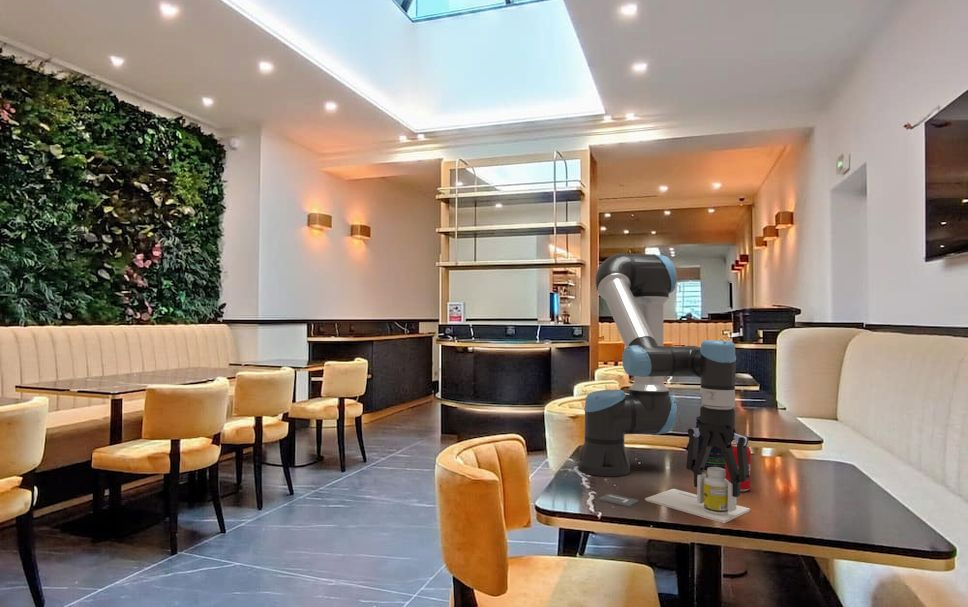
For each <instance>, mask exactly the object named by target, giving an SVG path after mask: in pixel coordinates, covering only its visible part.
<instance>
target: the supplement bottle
mask: <svg viewBox="0 0 968 607" xmlns="http://www.w3.org/2000/svg"><path fill="white" fill-rule="evenodd" d="M725 476H726V470H725V469H723V468H719V467H709V468H707V471H706V478H705V479H704V510H705V511H706V512H708V513H711V514H716V515H725V514H727V513H728V512H729V511H728V480H727V479H725Z"/></svg>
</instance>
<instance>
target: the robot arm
mask: <svg viewBox="0 0 968 607" xmlns="http://www.w3.org/2000/svg"><path fill="white" fill-rule="evenodd" d="M677 278H678V276H677V270H676V267H675V265H674V263H673V261H672V260H671V259H670V258H669V256H667V255H661V254H655V253H654V254H653V253H652V254H649V253H648V254H646V253H616V254H612V255H610V256H609V257H607V258H606V259H605V260H604V261H602V262H601V264H600V265H599V267H598V269H597V271H596V274H595V288H596V290H597V293H598V295H599V297H600V298H602V299H603V300H605V303H606V305H607V307H608V309H609V312H610V314H611V316H612V318H613V321H614V323H615V326H616V329H617V330H618V332H619V335H620V337H621V339H622V341H623V344H624V346H625V348H624V350H623V352H622V359H621V360H622V368H623V370H624V372H625V373H626V375H628V376H632V377H633V383H632V385H630V387H628V394H626V392H625V391H624V390H622V389H601V390H596V391H592V392H590V393H588V394H587V395H586V397H585V401H584V409H583V410H584V440H583V441H584V442H583V446H582V449H581V452H580V454H579V458H578V460H577V463H578V464H577V469H578V470H579V471H580V472H583V473H585V474H589V475H593V476H599V477H621V476H626V475H628V474H630V473H631V464H630V461H629V456H628V453H627V449H626V446H625V436H626V435H652V436H655V435H661V434H662V435H663V434H668V433H669V432H670V431H671V430H672V429H673V428H674V426H675V424H676V421H677V416H678V405H677V404H676V403H677V402H676V399H675V397H674V396H673V395H671V394H670V389H669V387H667V386H666V385H665V383H664V378H665V377H672V378H673V377H677V378H678V377H681V378H682V377H685V378H686V377H687V378H689V377H691V378H692V377H693V378H700V404H701V405H702V406H701V407H700V408H699V409H700V410H699V411H700V412H699V416H700V421H701V425H700V427H699V428H696V427H692V428H688V429H687V434H688V446H687V447H688V448H687V457H686V466H685V467H686V469H687V470H688V471H691V472H692V473H693V485H694V487H695V488H697V489H696V492H697V493H696V495H697V503H699V504H701V503H703V502H704V479H705V478H706V477H707V473H704V472H705V470H704V467H705V464H706V461H707V459H708V456H709V453H710V451H711V448H712V447H713V446H715V447H717V448H720V449H721V452H722V453H723V455H724V458H725V461H726V465H727V468H728V471H729V474H730V477H731V481H730V482H728V511H729V512H732V511H734V510H736V505H737V498H738V497H740V496H741V492H740V484H741V482H745V481H747V480H749V467H748V456H747V444H748V443H749V440H750V439H749V438H750V437H748V436H747V435H744V436H743V435H741V434H738V433H737V431H736V429H735V425H736V424H735V423H736V409H734V407H735V406H736V372H737V371H736V366H737V365H736V364H737V363H736V362H737V356H736V344H735V343H734V342H733V341H731V340H719V339H716V340H715V339H714V340H713V339H712V340H711V339H708V340H707V339H706V340H703V341H702V342H701V344H700V346H697V345H686V346H684V345H683V346H679V345H678V346H675V345H674V346H669V345H664V305H665V303H666V302H667V301H668V300H669V297H670V296H669V294H671V293H673V292H674V291H675V289H676V285H677V282H678V281H677V280H678V279H677ZM700 434H701V435H702V437H703V439H704V440H703V443H702V446H701V447H702V448H701V451H700V454H699V456H698V459H697V452H698V442H699V436H700ZM734 440H735V441H734ZM731 442H735V443H736V444H737V458H738V466H737V463H736V460H735V457H734V454H733V447H732V444H731ZM748 445H749V444H748ZM696 461H697V462H696Z"/></svg>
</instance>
